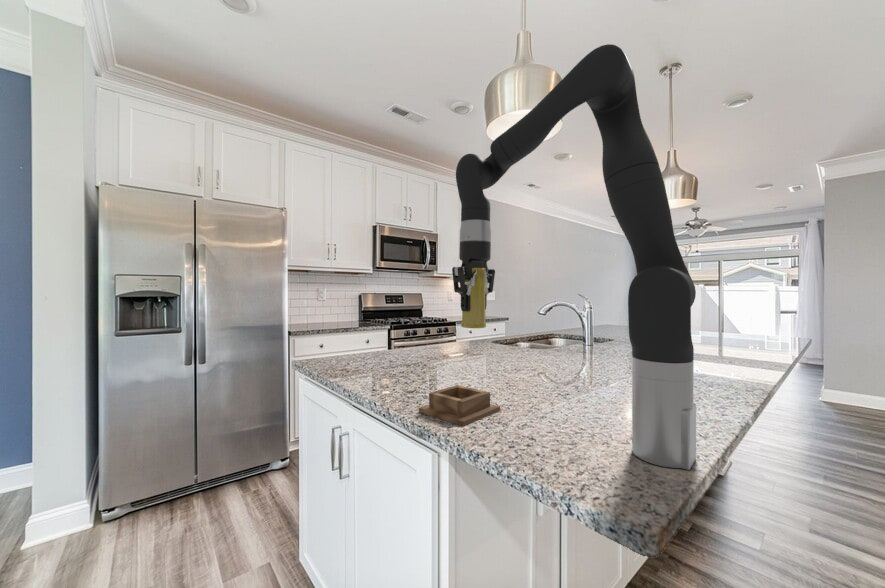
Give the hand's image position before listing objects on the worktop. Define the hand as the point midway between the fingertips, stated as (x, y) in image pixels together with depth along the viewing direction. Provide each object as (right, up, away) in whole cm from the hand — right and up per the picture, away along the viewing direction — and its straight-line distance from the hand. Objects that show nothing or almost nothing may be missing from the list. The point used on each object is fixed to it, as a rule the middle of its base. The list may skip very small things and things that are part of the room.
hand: (473, 310), depth 89 cm
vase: (0, -4, 0) cm, 4 cm away
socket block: (-3, -24, 0) cm, 25 cm away
